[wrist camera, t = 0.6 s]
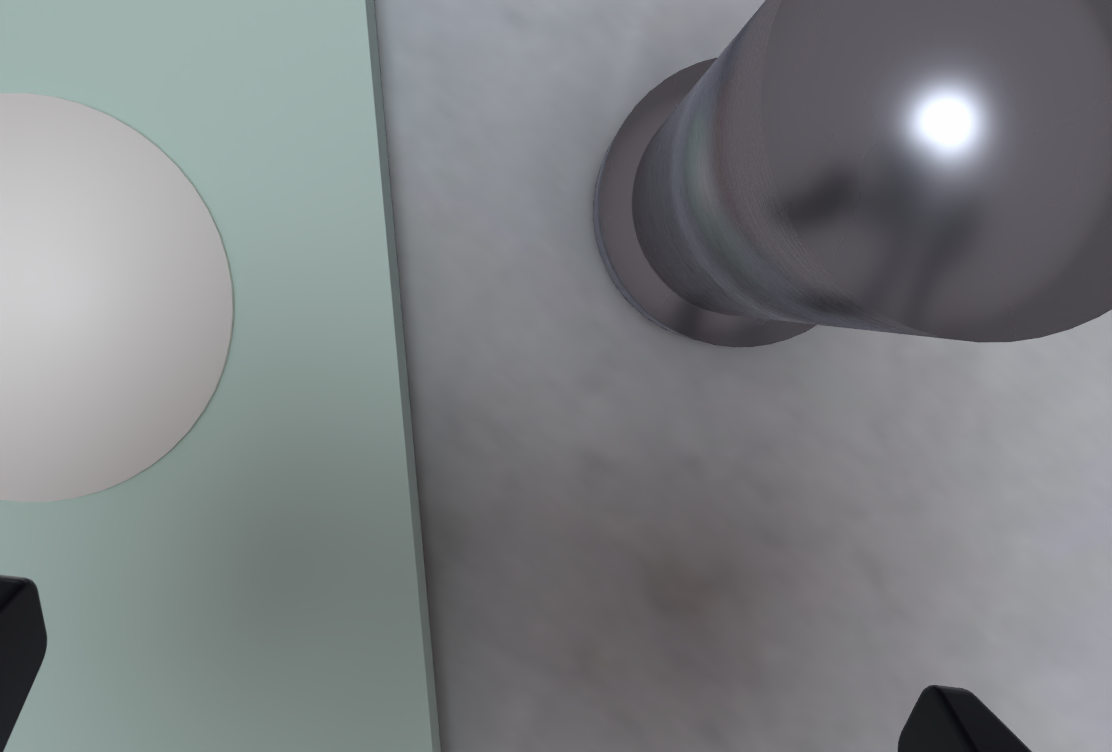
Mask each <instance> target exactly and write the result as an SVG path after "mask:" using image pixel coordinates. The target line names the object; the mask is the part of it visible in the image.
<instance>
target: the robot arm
mask: <svg viewBox="0 0 1112 752" xmlns="http://www.w3.org/2000/svg"><path fill="white" fill-rule="evenodd" d="M46 648H47V632H46V627H45V622H44V617H43V612H42V607H41V602H40V598H39V593H38V589H37V586H36V584H35V583H34V582H33V581H32V580H31V579H28V578H25V577H16V576H8V575H0V752H3V751H4V749H5V747H6V745H7V742H8V740H9V738H10V736H11V733H12V731H13V729H14V726H15V724H16V722H17V720H18V717H19V715H20V713H21V710H22V708H23V706H24V704H25V701H26V699H27V697H28V694H29V692H30V690H31V688H32V685H33V683H34V681H35V679H36V676H37V674H38V672H39V669H40V667H41V665H42V662H43V660H44V657H45V653H46ZM898 752H1032V751H1031V750H1030V749H1029V748H1028V747H1027V746H1026V745H1025V744H1024V743H1023V742H1022V741H1021V740H1020V739H1019V738H1018V737H1017V736H1016V735H1015V734H1014V733H1013V732H1012V731H1011V730H1010V729H1009V728H1008V727H1007V726H1006V725H1005V724H1004V723H1003V722H1002V721H1001V720H1000V719H999V718H998V717H997V716H996V715H994V714H993V713H992V712H991V711H990V710H989V709H988V708H987V707H986V706H985V705H984V704H983V703H982V702H981V701H980V700H979V699H978V698H977V697H976V696H975V695H974V694H973V693H971V692H970V691H968V690H966V689H963V688H955V687H947V686H938V685H931V686H928V687H927V688H925V689H924V690H923V691H922V693H921V695H920V697H919V699H918V701H917V703H916V704H915V706H914V708H913V710H912V712H911V714H910V716H909V718H908V720H907V722H906V724H905V726H904V728H903V730H902V732H901V735H900V738H899V742H898Z"/></svg>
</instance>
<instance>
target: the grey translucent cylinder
mask: <svg viewBox="0 0 1112 752" xmlns="http://www.w3.org/2000/svg"><path fill="white" fill-rule="evenodd" d="M593 221H594V228H595V236H596V240H597V244H598V248H599V252H600V255H601V257H602V260H603V262H604V265H605V267H606V269H607V271H608V273H609V275H610V277H611V278H612V280H613V282H614V284H615V285H616V287H617V288H618V289H619V290H620V292H621V293H622V294H623V296H624V297H625V298H626V299H627V300H628V301H629V302H630V303H631V304H632V305H633V306H634V307H635V308H636V309H637V310H638V311H639V312H640V313H641V314H643V315H644V316H645V317H647V318H648V319H649V320H651V321H652V322H654V323H656V324H657V325H659V326H661V327H663V328H664V329H666V330H669V331H671V332H673V333H676V334H678V335H681V336H684V337H688V338H692V339H695V340H699V341H703V342H707V343H711V344H714V345H722V346H730V347H753V346H760V345H767V344H772V343H776V342H779V341H783V340H786V339H789V338H792V337H794V336H796V335H799V334H801V333H803V332H806V331H807V330H809V329H811V328H812V327H814V326H816V325H825V326H834V327H843V328H853V329H862V330H871V331H880V332H889V333H899V334H908V335H917V336H926V337H935V338H945V339H954V340H963V341H972V342H1013V341H1020V340H1027V339H1033V338H1040V337H1044V336H1047V335H1051V334H1054V333H1058V332H1062V331H1065V330H1069V329H1071V328H1074V327H1076V326H1079V325H1081V324H1083V323H1086V322H1088V321H1090V320H1093V319H1095V318H1097V317H1099V316H1101V315H1103V314H1104V313H1106V312H1108V311H1110V310H1111V309H1112V0H766V1H765V2H764V3H763V4H762V6H761V7H760V8H759V9H758V10H757V12H756V13H755V14H754V15H753V16H752V18H751V19H750V20H749V21H748V22H747V24H746V25H745V26H744V27H743V28H742V30H741V31H740V32H739V33H738V34H737V36H736V37H735V38H734V39H733V40H732V42H731V43H730V44H729V45H728V46H727V47H726V49H725V50H724V51H723V52H722V53H721V55H720V56H719V57H718V58H714V59H710V60H707V61H703V62H700V63H697V64H695V65H692V66H690V67H688V68H685V69H683V70H681V71H679V72H677V73H676V74H674V75H672V76H671V77H669V78H667V79H666V80H664V81H663V82H661V83H660V84H659V85H658V86H656V87H655V88H654V89H653V90H651V91H650V92H649V93H648V94H647V95H646V96H645V97H644V98H643V99H642V100H641V101H640V102H639V103H638V104H637V105H636V106H635V108H634V109H633V110H632V112H631V113H630V115H629V116H628V117H627V119H626V120H625V121H624V123H623V124H622V126H621V128H620V130H619V131H618V133H617V135H616V136H615V138H614V140H613V142H612V143H611V145H610V147H609V149H608V150H607V152H606V155H605V157H604V160H603V162H602V165H601V167H600V170H599V174H598V178H597V182H596V186H595V194H594V202H593Z"/></svg>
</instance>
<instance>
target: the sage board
mask: <svg viewBox="0 0 1112 752" xmlns="http://www.w3.org/2000/svg"><path fill="white" fill-rule="evenodd" d="M0 575H8V576H16V577H25V578H28V579H31V580H32V581H33V582H34V583H35V584H36V586H37V589H38V593H39V598H40V602H41V607H42V612H43V617H44V622H45V627H46V632H47V648H46V653H45V657H44V660H43V662H42V665H41V667H40V669H39V672H38V674H37V676H36V679H35V681H34V683H33V685H32V688H31V690H30V692H29V694H28V697H27V699H26V701H25V704H24V706H23V708H22V710H21V713H20V715H19V717H18V720H17V722H16V724H15V726H14V729H13V731H12V733H11V736H10V738H9V740H8V742H7V745H6V747H5V749H4V751H3V752H441V746H440V734H439V723H438V712H437V701H436V690H435V678H434V667H433V656H432V645H431V634H430V622H429V611H428V600H427V589H426V578H425V566H424V555H423V544H422V533H421V521H420V510H419V499H418V488H417V477H416V465H415V454H414V443H413V432H412V421H411V409H410V398H409V387H408V376H407V365H406V353H405V342H404V331H403V320H402V308H401V297H400V286H399V275H398V264H397V252H396V241H395V230H394V219H393V208H392V196H391V185H390V174H389V163H388V152H387V140H386V129H385V118H384V107H383V96H382V84H381V73H380V62H379V51H378V39H377V28H376V17H375V6H374V0H0Z"/></svg>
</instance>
